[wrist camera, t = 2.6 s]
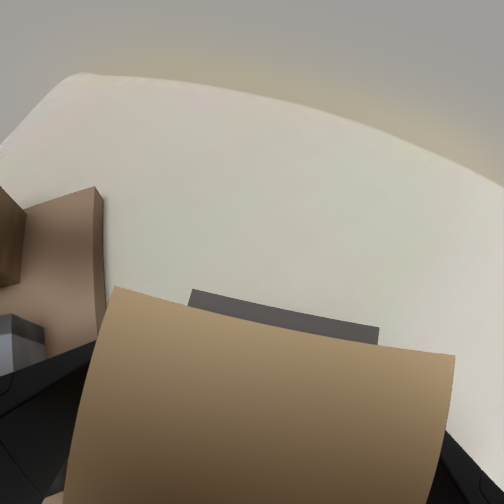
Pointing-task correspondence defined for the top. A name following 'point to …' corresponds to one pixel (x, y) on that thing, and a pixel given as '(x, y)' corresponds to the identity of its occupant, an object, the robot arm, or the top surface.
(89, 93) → the top surface
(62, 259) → the wooden fixture board
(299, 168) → the top surface
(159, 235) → the top surface
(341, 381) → the beige block
